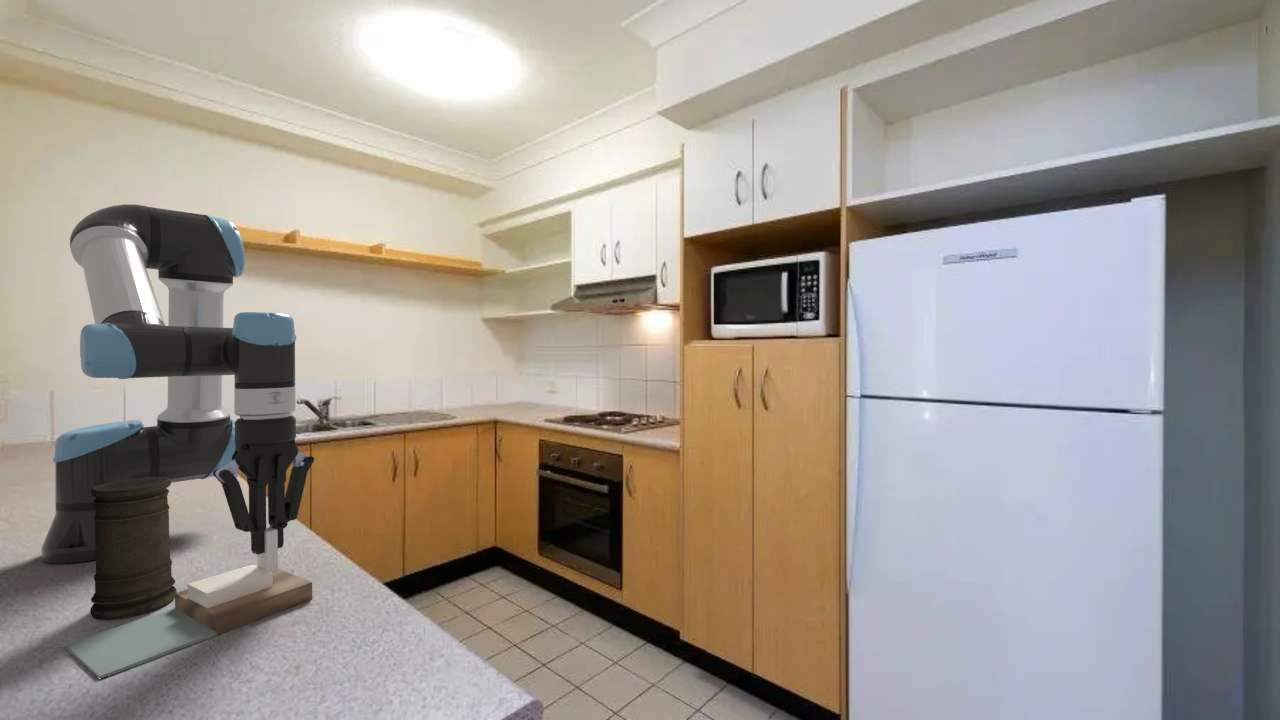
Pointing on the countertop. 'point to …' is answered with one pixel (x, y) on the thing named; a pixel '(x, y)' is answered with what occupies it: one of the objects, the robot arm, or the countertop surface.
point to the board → (248, 603)
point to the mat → (138, 642)
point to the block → (229, 585)
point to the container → (132, 548)
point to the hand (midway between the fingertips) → (267, 572)
